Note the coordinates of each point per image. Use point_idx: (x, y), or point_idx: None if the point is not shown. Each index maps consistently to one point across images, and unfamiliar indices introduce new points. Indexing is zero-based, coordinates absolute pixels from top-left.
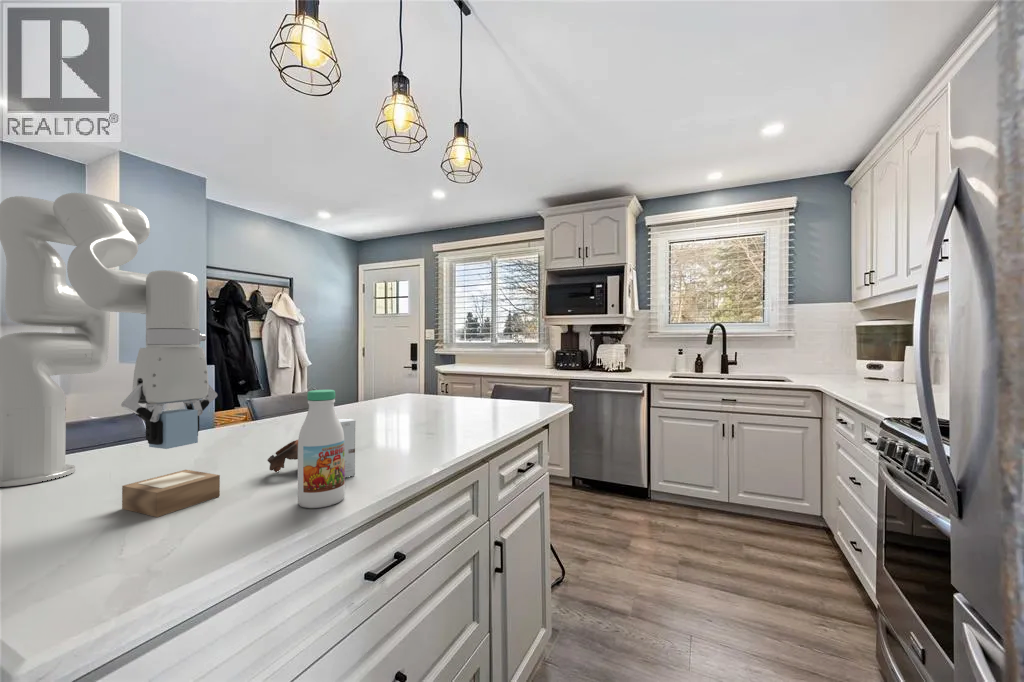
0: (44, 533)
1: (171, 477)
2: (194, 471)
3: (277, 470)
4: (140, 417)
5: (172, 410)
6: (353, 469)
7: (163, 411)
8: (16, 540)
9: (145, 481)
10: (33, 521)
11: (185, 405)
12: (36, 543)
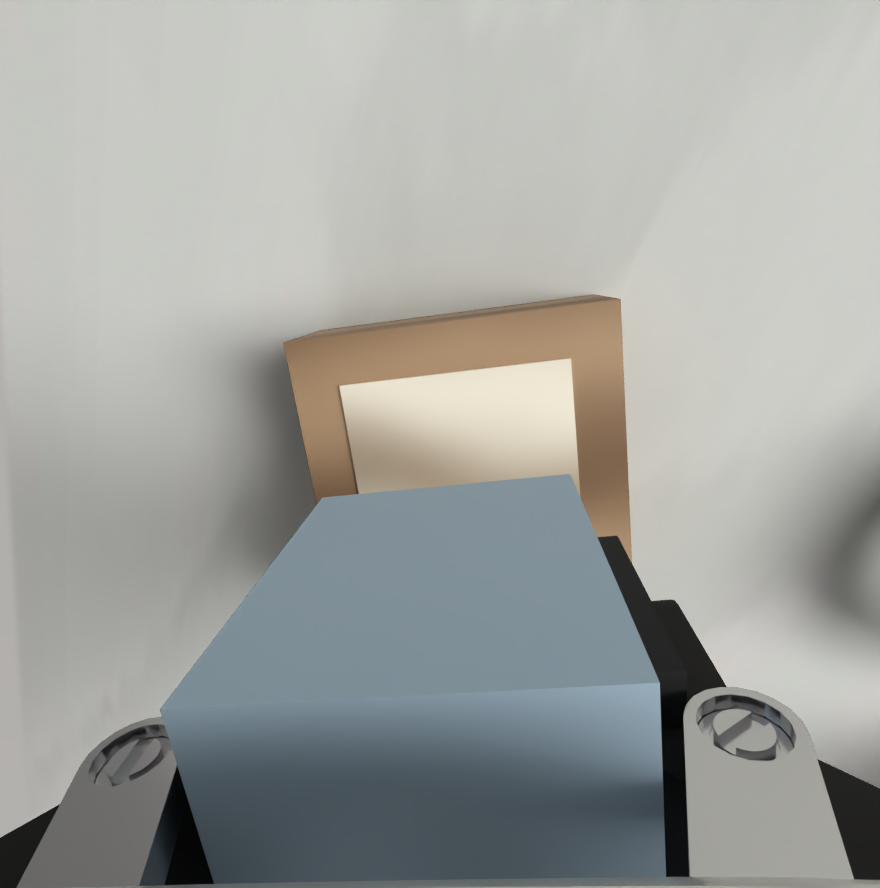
0: (86, 379)
1: (482, 427)
2: (617, 402)
3: None
4: (51, 817)
5: (483, 752)
6: None
7: (353, 735)
8: (20, 371)
9: (375, 381)
10: (60, 152)
11: (692, 871)
12: (66, 468)
